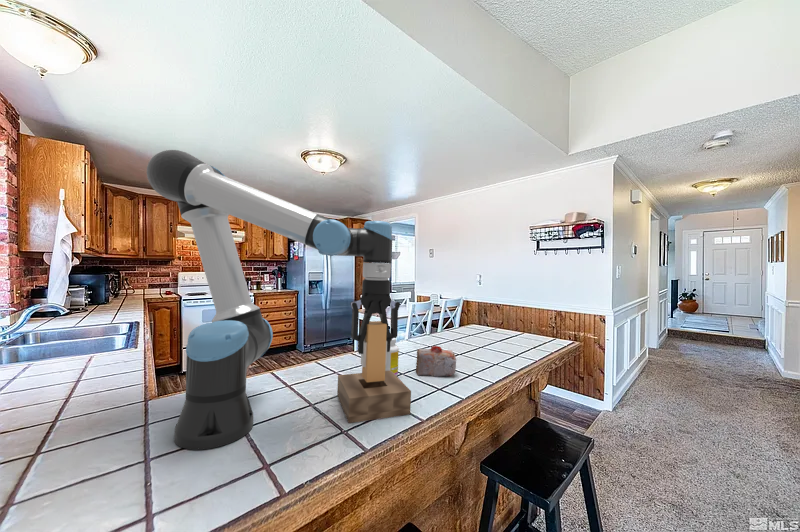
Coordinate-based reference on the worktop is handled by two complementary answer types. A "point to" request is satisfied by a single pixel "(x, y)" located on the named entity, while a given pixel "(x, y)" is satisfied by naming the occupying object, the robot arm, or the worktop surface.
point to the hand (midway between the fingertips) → (373, 364)
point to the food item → (435, 362)
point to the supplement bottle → (392, 358)
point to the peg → (375, 352)
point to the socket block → (373, 397)
